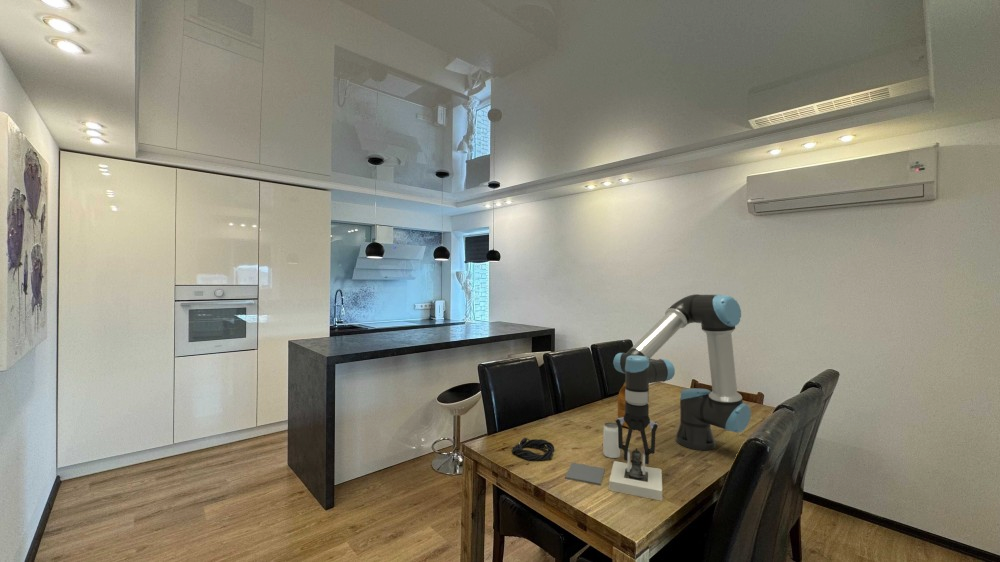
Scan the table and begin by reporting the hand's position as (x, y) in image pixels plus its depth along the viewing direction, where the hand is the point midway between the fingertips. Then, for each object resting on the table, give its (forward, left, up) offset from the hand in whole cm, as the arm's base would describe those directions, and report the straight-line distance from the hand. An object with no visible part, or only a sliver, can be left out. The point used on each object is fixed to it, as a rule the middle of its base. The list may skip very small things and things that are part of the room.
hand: (636, 471), depth 131 cm
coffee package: (+5, -59, -4) cm, 59 cm away
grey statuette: (0, 0, -4) cm, 4 cm away
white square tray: (0, 0, -4) cm, 4 cm away
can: (+10, -20, -4) cm, 23 cm away
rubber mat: (+17, 0, -4) cm, 17 cm away
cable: (+39, -9, -5) cm, 40 cm away
